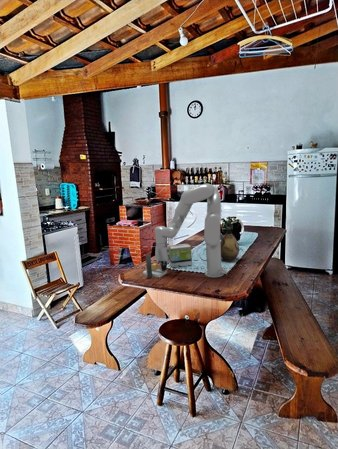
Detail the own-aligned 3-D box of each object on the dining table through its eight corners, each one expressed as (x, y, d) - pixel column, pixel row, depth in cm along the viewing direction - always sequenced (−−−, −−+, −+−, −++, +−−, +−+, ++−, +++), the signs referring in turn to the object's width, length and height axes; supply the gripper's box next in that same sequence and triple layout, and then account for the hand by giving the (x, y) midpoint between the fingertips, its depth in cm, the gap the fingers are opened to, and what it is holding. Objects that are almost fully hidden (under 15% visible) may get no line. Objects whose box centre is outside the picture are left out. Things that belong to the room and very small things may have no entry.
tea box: (172, 268, 220) (170, 248, 217) (169, 264, 230) (168, 245, 227) (192, 265, 223) (191, 246, 220) (188, 261, 233) (187, 242, 230)
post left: (153, 277, 206) (151, 254, 203) (150, 278, 203) (148, 255, 200) (149, 276, 208) (147, 253, 205) (146, 278, 205) (144, 255, 202)
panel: (167, 273, 212) (166, 268, 211) (159, 277, 204) (159, 273, 204) (151, 270, 220) (150, 266, 219) (143, 274, 212) (142, 270, 211)
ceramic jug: (239, 263, 221) (238, 222, 215) (218, 263, 224) (216, 223, 218) (239, 255, 237) (238, 217, 231) (219, 256, 240) (217, 218, 234)
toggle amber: (157, 269, 214) (157, 263, 213) (155, 270, 212) (154, 265, 211) (154, 268, 216) (153, 263, 215) (151, 270, 213) (151, 264, 212)
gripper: (174, 243, 205) (176, 269, 208) (156, 242, 213) (158, 267, 217) (167, 246, 199) (170, 273, 202) (149, 245, 207) (151, 270, 211)
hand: (163, 270), depth 209 cm, fingers closed
